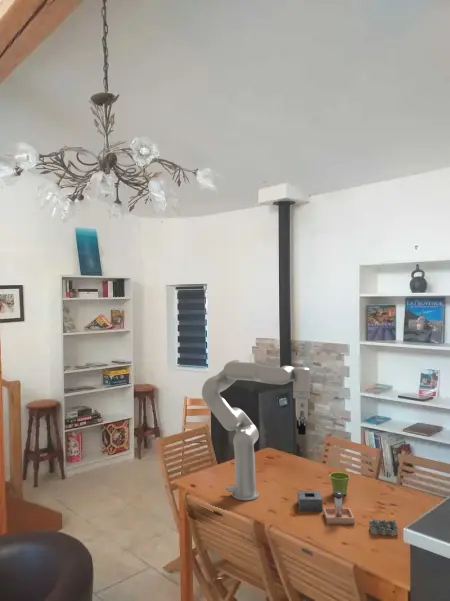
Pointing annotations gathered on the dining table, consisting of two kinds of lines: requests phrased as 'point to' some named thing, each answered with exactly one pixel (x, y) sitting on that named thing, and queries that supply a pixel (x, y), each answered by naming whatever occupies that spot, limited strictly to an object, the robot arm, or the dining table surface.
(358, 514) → the dining table surface
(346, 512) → the tray
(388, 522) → the egg carton
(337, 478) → the plant pot
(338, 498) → the pin
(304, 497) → the socket block
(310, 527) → the dining table surface
